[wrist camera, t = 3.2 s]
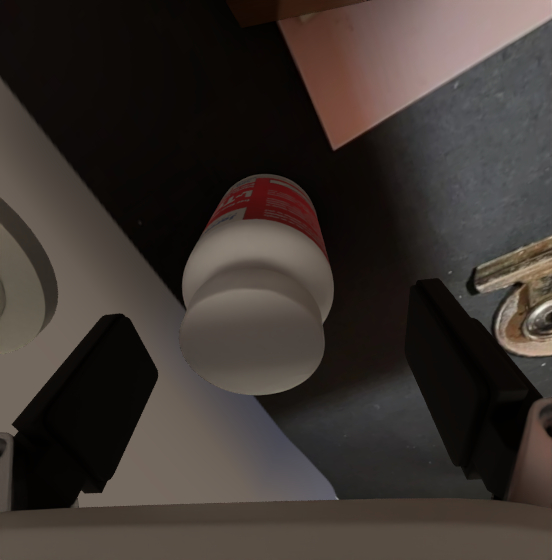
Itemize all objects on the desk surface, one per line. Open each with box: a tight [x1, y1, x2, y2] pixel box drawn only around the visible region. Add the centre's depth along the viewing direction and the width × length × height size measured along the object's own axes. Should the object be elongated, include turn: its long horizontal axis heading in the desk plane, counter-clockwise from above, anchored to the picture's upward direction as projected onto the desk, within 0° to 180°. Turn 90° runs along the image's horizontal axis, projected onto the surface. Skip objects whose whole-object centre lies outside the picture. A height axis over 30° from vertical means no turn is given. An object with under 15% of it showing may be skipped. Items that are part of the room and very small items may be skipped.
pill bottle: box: [179, 174, 334, 395], centre depth 14 cm, size 6×6×11 cm
